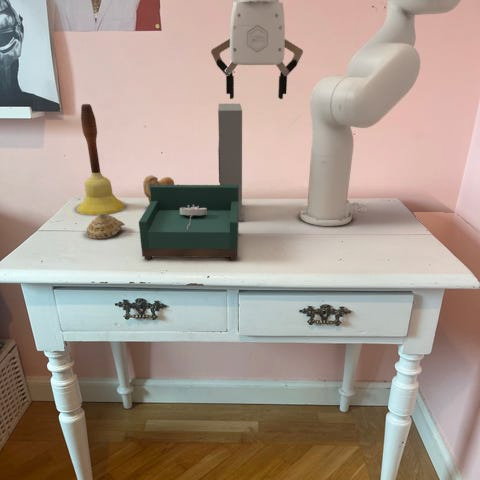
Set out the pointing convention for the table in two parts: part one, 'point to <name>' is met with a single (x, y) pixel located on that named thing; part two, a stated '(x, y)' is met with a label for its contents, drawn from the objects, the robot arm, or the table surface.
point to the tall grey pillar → (230, 147)
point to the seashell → (103, 227)
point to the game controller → (193, 211)
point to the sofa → (191, 222)
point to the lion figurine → (154, 181)
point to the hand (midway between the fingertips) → (256, 98)
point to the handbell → (96, 173)
